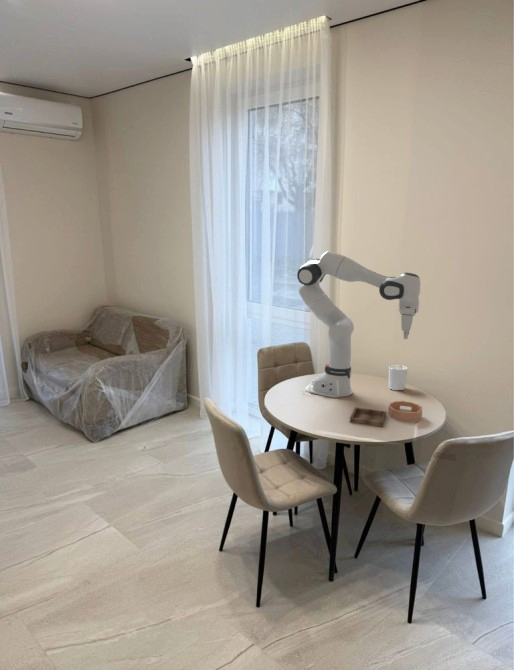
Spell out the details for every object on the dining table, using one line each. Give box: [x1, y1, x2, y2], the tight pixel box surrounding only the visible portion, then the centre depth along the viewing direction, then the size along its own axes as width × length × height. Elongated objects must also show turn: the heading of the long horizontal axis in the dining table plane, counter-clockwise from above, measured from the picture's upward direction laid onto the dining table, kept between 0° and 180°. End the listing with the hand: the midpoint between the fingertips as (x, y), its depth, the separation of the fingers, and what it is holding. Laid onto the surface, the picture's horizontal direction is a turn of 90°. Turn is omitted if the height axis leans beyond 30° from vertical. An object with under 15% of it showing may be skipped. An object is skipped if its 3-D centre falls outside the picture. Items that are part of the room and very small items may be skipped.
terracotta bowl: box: [387, 400, 423, 424], centre depth 223 cm, size 15×15×5 cm
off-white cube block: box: [400, 406, 411, 412], centre depth 223 cm, size 5×4×4 cm
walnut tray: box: [349, 407, 387, 428], centre depth 218 cm, size 14×14×3 cm
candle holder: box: [388, 364, 408, 391], centre depth 261 cm, size 10×10×12 cm
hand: (406, 336), depth 232 cm, fingers open, 8 cm apart
